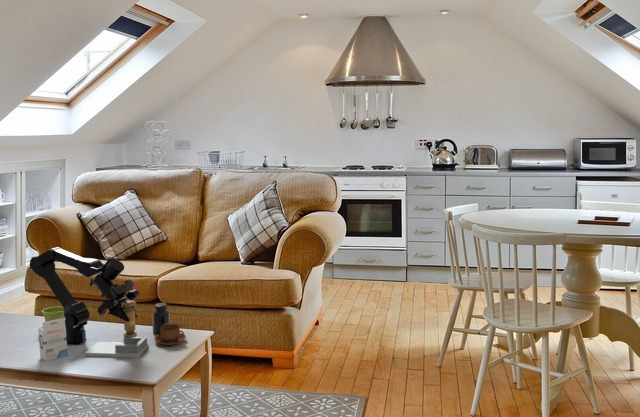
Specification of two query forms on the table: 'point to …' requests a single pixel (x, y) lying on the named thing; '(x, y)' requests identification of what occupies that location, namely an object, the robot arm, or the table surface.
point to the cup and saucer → (170, 335)
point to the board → (119, 348)
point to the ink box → (53, 340)
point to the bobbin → (130, 325)
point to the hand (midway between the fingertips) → (132, 319)
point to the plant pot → (53, 314)
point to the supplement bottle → (160, 317)
